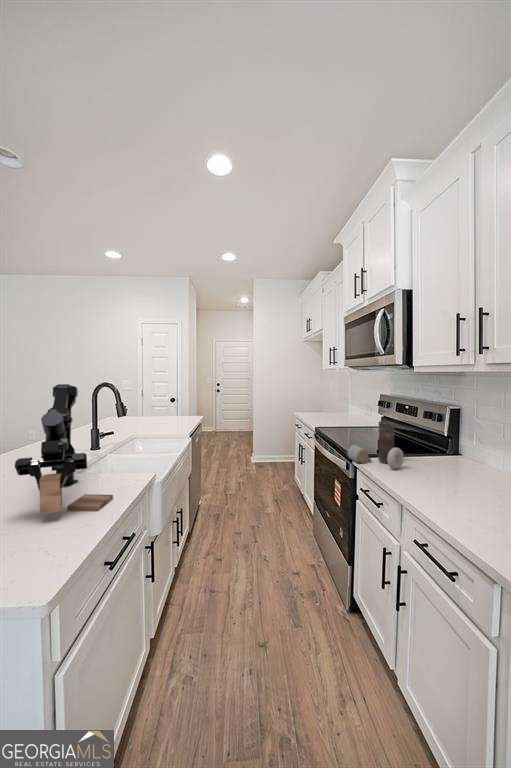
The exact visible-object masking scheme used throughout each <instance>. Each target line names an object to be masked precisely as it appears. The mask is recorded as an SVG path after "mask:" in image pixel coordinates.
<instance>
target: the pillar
mask: <svg viewBox="0 0 511 768" xmlns="http://www.w3.org/2000/svg"><path fill="white" fill-rule="evenodd" d="M61 476H62V473H58V474H56V473H51V474H49V473H48V474H42V477H41V478H40V480H39V482H40V491H39V515H45V514H51V513H56V512H61V509H62V507H63V487H62V488H61V489H60V481H61Z"/></svg>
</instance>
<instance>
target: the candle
mask: <svg viewBox="0 0 511 768" xmlns="http://www.w3.org/2000/svg"><path fill="white" fill-rule="evenodd" d="M394 447H395V423H394V422H389V421H378V461H379V462H380V463H382V464H388V462H387V456H388V453H389V451H390V450H391V449H392V448H394Z"/></svg>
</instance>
